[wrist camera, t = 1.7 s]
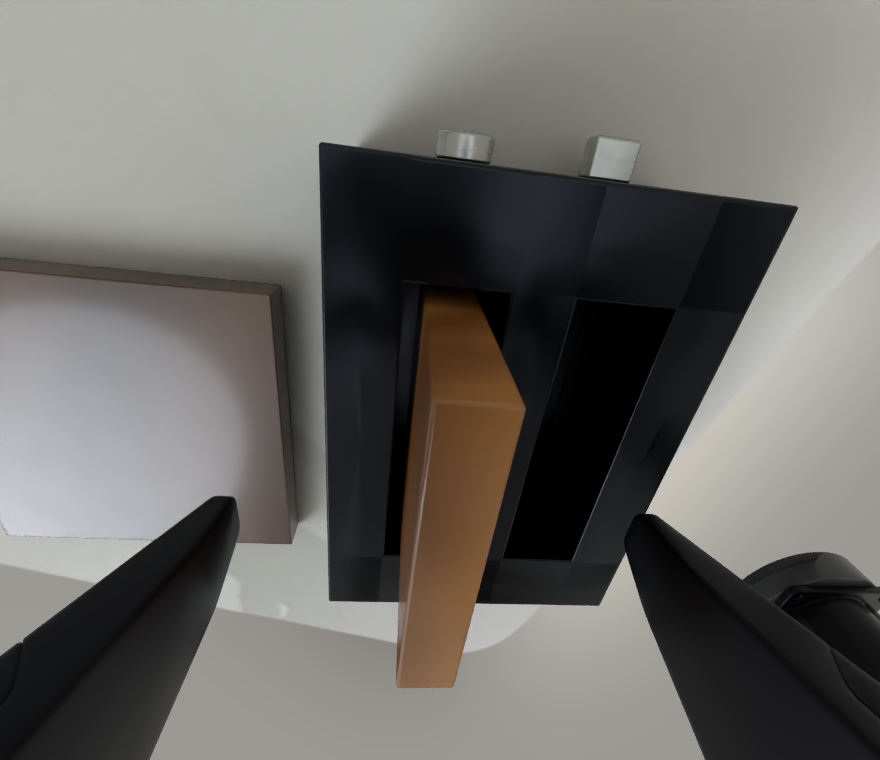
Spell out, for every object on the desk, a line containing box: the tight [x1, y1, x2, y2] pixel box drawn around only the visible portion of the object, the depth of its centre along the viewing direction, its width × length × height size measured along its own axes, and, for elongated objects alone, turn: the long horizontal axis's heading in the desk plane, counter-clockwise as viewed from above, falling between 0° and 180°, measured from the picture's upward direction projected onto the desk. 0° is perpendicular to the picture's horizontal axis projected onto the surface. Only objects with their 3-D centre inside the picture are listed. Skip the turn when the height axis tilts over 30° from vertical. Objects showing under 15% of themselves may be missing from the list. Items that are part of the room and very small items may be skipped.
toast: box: [396, 284, 526, 688], centre depth 11 cm, size 1×8×8 cm, turn 173°
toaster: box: [319, 129, 798, 606], centre depth 14 cm, size 10×15×6 cm, turn 173°
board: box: [0, 258, 298, 544], centre depth 16 cm, size 12×12×1 cm
